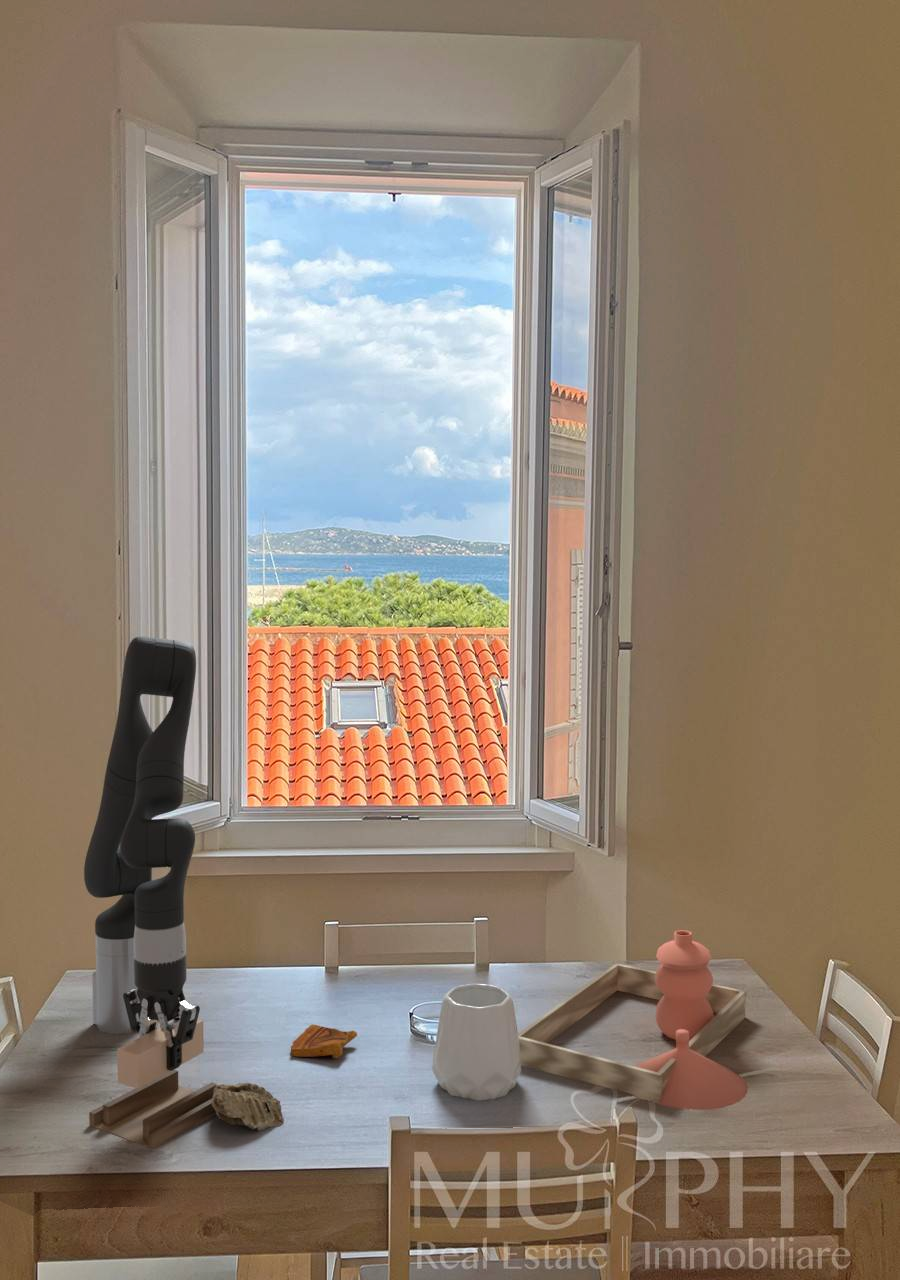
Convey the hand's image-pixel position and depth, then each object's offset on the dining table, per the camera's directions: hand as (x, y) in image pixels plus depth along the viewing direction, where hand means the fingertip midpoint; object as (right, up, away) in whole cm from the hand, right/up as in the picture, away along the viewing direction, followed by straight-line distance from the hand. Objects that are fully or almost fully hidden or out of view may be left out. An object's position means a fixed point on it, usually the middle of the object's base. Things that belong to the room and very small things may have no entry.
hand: (161, 1064), depth 178 cm
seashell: (+13, -8, -6) cm, 16 cm away
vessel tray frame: (+75, -7, +30) cm, 81 cm away
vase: (+47, -8, +12) cm, 49 cm away
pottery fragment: (+26, -6, +24) cm, 36 cm away
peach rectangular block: (0, 0, 0) cm, 0 cm away
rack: (0, -9, +1) cm, 9 cm away
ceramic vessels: (+82, -8, +20) cm, 85 cm away
